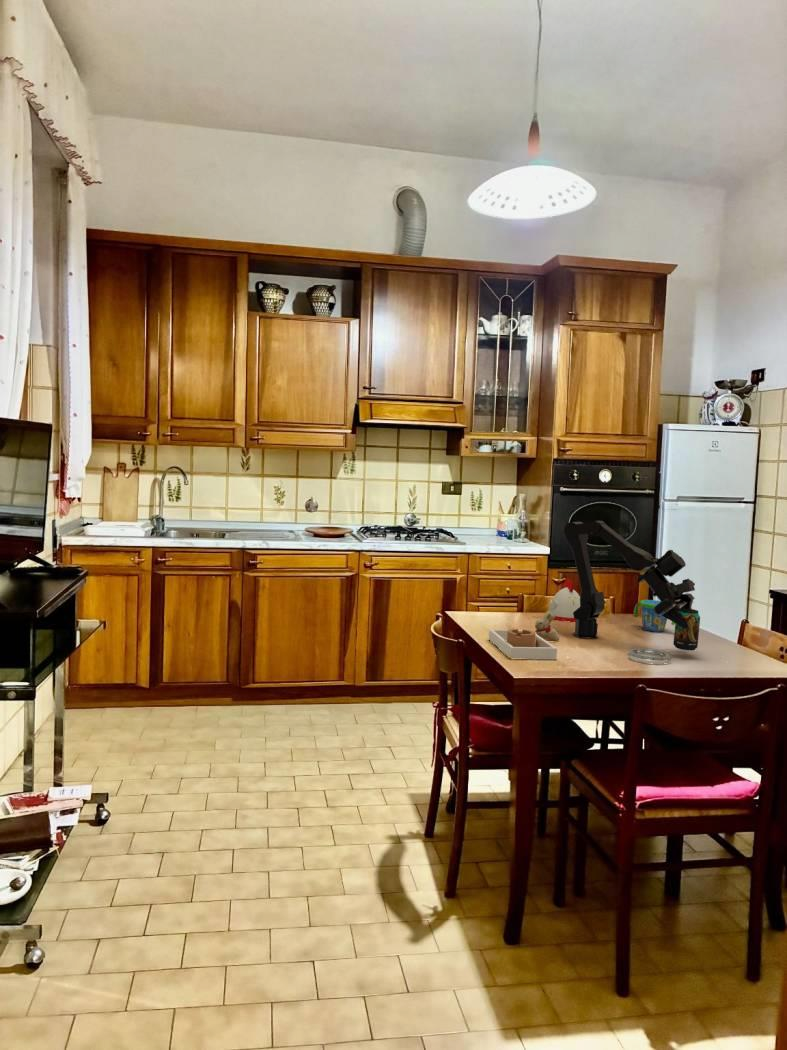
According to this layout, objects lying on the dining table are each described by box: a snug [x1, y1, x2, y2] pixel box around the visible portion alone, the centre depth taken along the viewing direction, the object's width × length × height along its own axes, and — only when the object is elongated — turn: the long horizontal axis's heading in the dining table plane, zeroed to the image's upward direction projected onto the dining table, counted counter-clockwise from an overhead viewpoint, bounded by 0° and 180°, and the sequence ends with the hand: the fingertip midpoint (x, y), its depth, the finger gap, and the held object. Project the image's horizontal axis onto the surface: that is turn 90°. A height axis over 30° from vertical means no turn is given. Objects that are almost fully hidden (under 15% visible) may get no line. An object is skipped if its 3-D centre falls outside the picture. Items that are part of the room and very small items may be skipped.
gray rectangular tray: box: [488, 629, 558, 660], centre depth 237 cm, size 14×24×4 cm, turn 8°
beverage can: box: [672, 608, 701, 651], centre depth 239 cm, size 7×7×12 cm
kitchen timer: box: [547, 578, 581, 623], centre depth 292 cm, size 14×14×15 cm
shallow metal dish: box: [627, 648, 672, 664], centre depth 233 cm, size 12×12×2 cm
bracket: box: [507, 628, 536, 647], centre depth 237 cm, size 18×8×7 cm, turn 166°
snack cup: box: [633, 599, 675, 633], centre depth 278 cm, size 16×10×10 cm
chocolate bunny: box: [534, 611, 560, 642], centre depth 252 cm, size 6×8×10 cm
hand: (691, 626), depth 238 cm, fingers closed on beverage can, 7 cm apart
